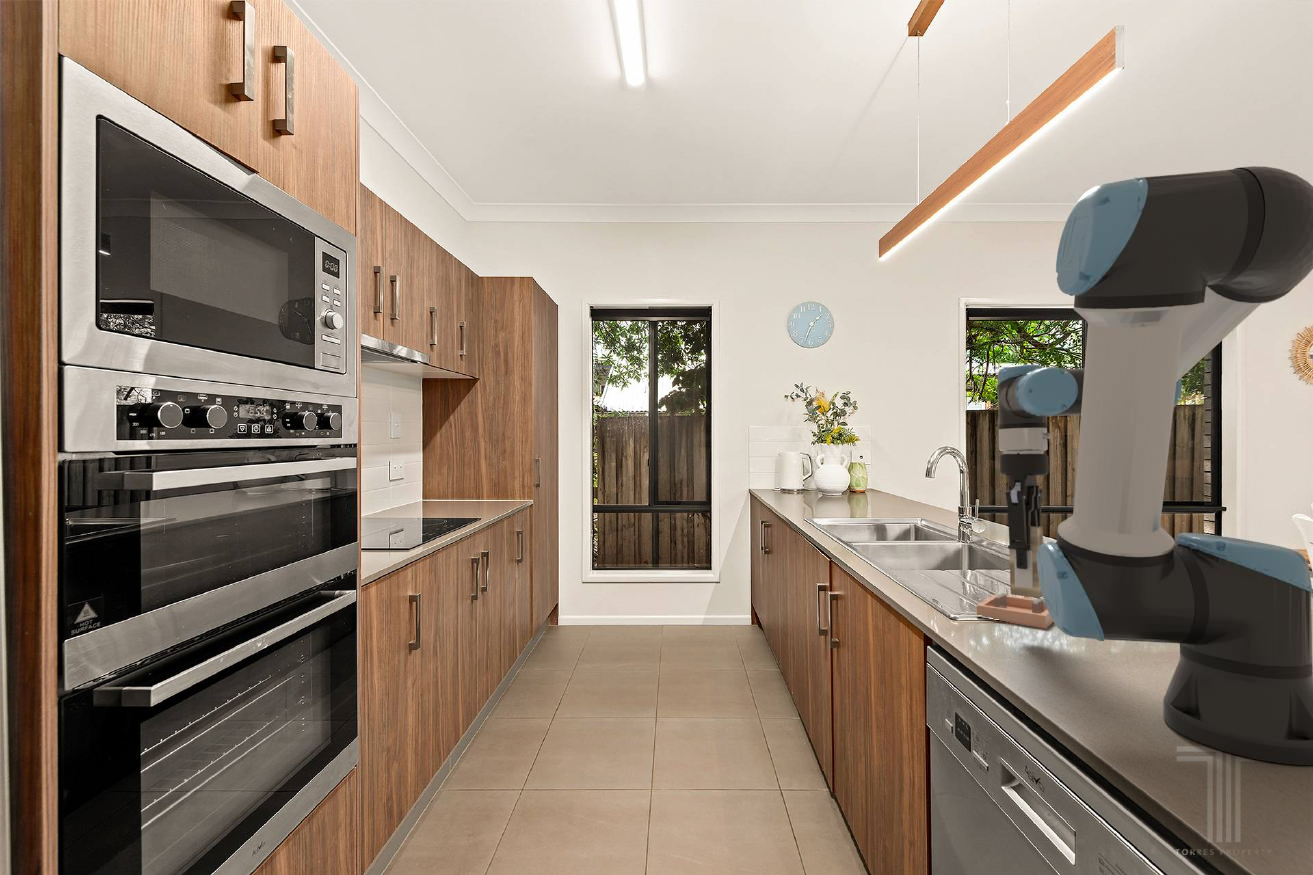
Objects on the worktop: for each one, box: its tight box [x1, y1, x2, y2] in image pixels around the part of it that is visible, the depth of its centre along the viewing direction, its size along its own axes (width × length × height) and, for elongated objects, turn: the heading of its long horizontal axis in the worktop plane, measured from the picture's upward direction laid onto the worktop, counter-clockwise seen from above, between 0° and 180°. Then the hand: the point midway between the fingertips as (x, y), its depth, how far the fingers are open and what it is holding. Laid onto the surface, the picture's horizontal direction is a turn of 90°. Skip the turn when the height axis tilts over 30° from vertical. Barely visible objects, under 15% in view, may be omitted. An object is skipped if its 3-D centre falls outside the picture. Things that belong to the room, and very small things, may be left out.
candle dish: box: [976, 592, 1054, 630], centre depth 127 cm, size 12×12×4 cm
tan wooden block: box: [1009, 526, 1044, 599], centre depth 113 cm, size 4×4×12 cm
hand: (1027, 585), depth 113 cm, fingers closed on tan wooden block, 3 cm apart
